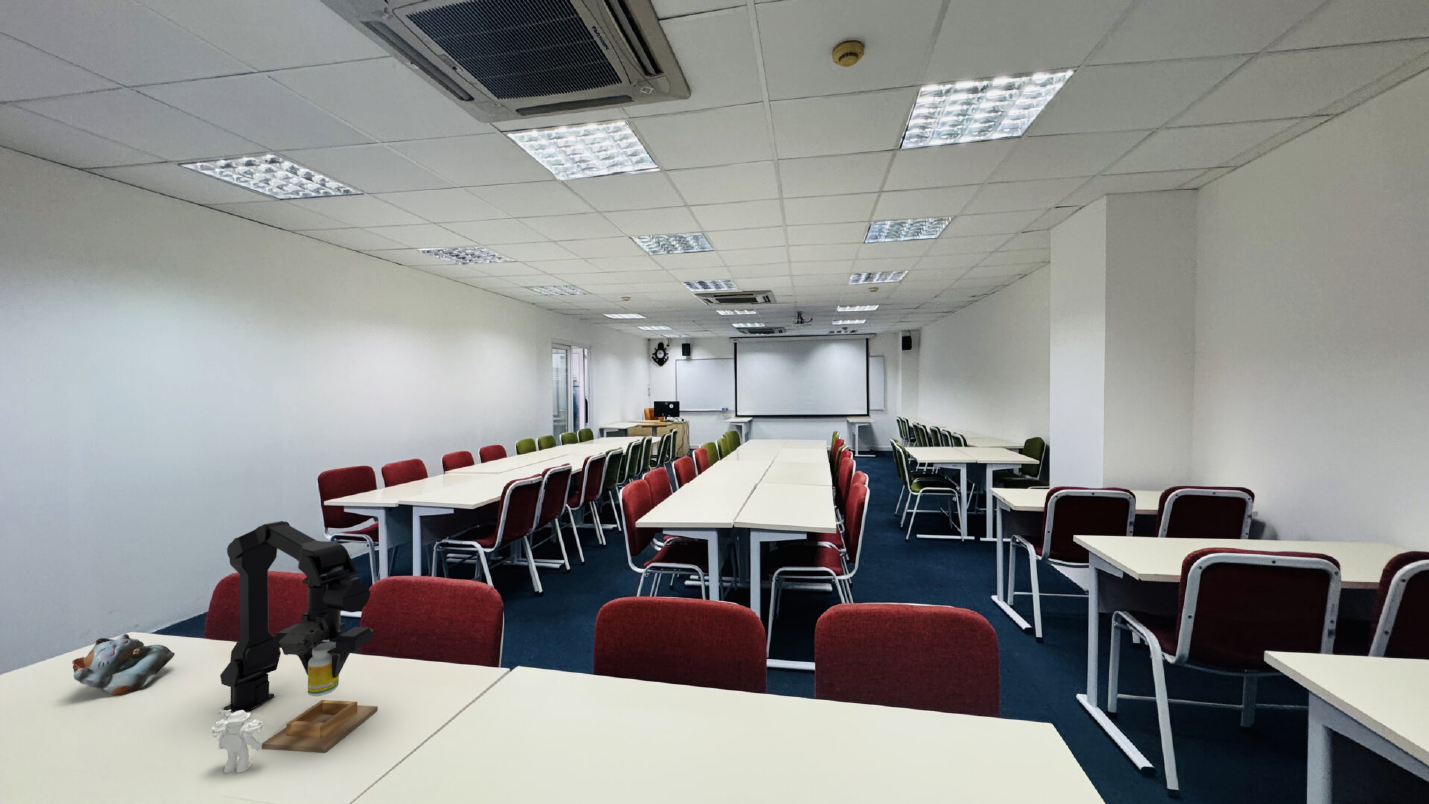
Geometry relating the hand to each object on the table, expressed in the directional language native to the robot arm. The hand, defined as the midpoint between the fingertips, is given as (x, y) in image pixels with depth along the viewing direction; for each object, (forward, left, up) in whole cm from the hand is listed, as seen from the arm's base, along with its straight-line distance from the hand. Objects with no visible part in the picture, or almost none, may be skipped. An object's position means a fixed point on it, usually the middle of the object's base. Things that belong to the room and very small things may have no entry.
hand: (323, 676), depth 109 cm
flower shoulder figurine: (-6, -13, -12) cm, 18 cm away
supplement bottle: (0, 0, -3) cm, 3 cm away
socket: (0, 0, -11) cm, 11 cm away
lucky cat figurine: (-63, +11, -12) cm, 65 cm away
